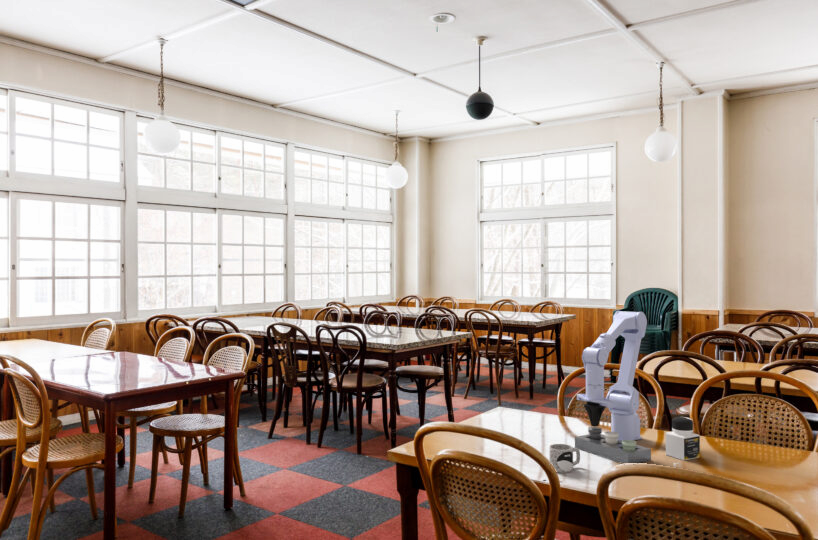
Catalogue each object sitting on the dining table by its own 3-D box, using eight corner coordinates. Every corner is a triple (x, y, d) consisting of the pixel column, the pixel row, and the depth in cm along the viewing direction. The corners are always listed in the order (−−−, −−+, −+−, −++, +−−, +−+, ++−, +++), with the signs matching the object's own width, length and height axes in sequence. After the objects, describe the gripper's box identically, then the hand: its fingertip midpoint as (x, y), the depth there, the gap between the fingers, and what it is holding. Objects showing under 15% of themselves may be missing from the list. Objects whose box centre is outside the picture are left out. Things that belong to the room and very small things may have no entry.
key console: (597, 443, 212) (597, 432, 212) (651, 460, 193) (650, 449, 193) (574, 447, 207) (574, 436, 207) (628, 465, 188) (627, 453, 188)
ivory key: (611, 443, 203) (611, 430, 203) (621, 446, 199) (621, 433, 199) (601, 445, 201) (601, 432, 201) (611, 448, 197) (611, 435, 197)
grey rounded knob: (594, 438, 209) (594, 426, 209) (604, 441, 205) (604, 429, 205) (585, 440, 207) (585, 427, 207) (595, 443, 203) (595, 430, 203)
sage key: (628, 451, 197) (628, 439, 197) (639, 455, 193) (639, 442, 193) (618, 453, 195) (618, 440, 195) (629, 457, 191) (629, 444, 191)
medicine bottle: (684, 461, 192) (684, 421, 192) (665, 455, 198) (665, 416, 198) (700, 457, 195) (700, 419, 195) (680, 451, 202) (680, 414, 202)
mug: (558, 474, 180) (558, 451, 180) (545, 468, 186) (544, 445, 186) (587, 470, 184) (587, 447, 184) (572, 463, 190) (572, 441, 190)
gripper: (569, 381, 210) (569, 422, 210) (602, 388, 198) (602, 432, 198) (585, 380, 214) (585, 420, 214) (618, 386, 201) (618, 429, 201)
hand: (594, 425), depth 206 cm, fingers closed
